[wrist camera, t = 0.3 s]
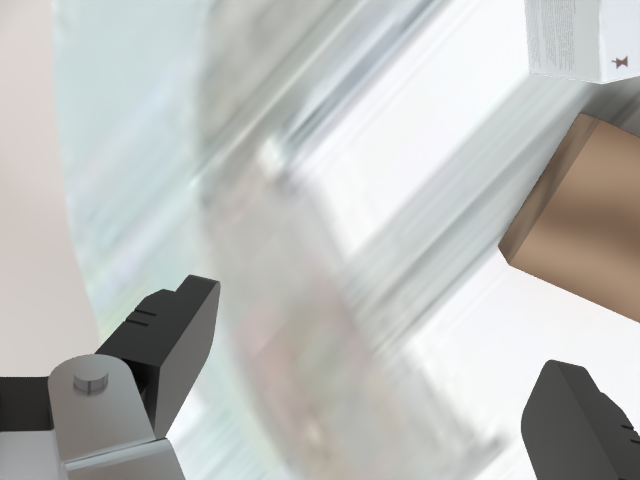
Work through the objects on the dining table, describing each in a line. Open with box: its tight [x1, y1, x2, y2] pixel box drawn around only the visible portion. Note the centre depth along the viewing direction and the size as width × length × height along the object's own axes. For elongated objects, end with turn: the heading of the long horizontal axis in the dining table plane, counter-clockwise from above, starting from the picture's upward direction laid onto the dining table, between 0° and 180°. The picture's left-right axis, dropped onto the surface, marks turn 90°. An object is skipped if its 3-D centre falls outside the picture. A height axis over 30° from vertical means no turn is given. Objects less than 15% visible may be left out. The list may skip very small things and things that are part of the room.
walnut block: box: [498, 113, 640, 323], centre depth 36 cm, size 11×11×4 cm
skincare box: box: [525, 0, 640, 84], centre depth 28 cm, size 6×4×12 cm
